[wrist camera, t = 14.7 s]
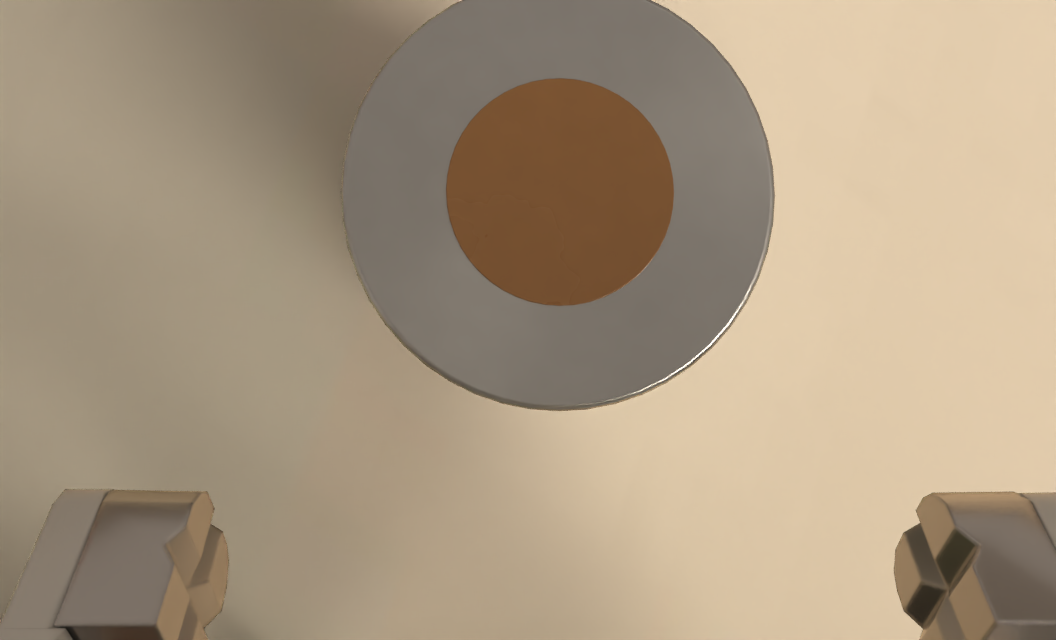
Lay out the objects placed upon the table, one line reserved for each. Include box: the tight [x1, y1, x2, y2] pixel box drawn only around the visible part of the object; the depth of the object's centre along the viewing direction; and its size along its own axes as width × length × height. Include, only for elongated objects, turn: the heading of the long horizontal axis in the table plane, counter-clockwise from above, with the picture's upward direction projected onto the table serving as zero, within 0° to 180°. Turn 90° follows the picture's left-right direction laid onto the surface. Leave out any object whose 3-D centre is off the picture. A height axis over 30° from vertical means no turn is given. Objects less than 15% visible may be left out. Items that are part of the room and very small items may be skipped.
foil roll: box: [341, 0, 775, 411], centre depth 14 cm, size 5×5×8 cm
